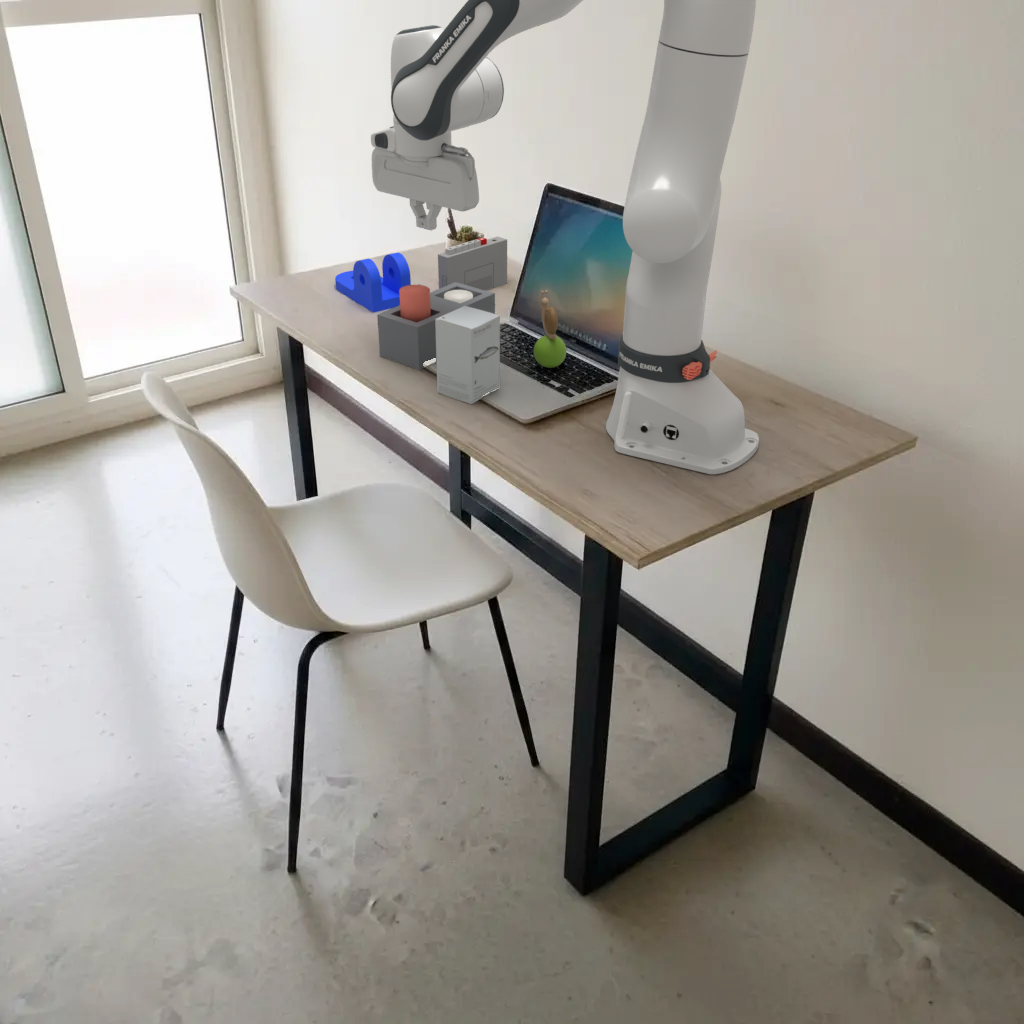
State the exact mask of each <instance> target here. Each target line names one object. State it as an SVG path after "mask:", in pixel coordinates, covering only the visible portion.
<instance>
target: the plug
mask: <svg viewBox="0 0 1024 1024" xmlns="http://www.w3.org/2000/svg"><path fill="white" fill-rule="evenodd" d="M472 298H473V294H472V293H471V292H470V291H466V290H451V291H448V292H446V293H445V294H444V299H447V300H450V301H454V302H457V303H463V302H465V301H467V300H470V299H472Z"/></svg>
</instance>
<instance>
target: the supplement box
mask: <svg viewBox="0 0 1024 1024" xmlns="http://www.w3.org/2000/svg"><path fill="white" fill-rule="evenodd" d="M435 327H436V362H435V363H436V386H437V387H436V390H437V391H436V392H437V393H438V394H441V395H444V396H447V397H449V398H452V399H455V400H458V401H460V402H463V403H467V404H469V405H473V404H474V403H476V402H477V401H479V400H481V399H483V398H482V396H483V395H485V394H486V393H488V392H491V391H493V390H495V389H497V388H499V387H500V385H501V384H500V383H501V381H500V380H501V379H500V378H501V375H500V373H501V372H500V371H501V369H500V368H501V367H500V366H501V364H500V362H501V359H500V358H501V346H500V345H501V315H500V314H496V313H495V314H493V313H490V312H486V311H483V310H479V309H475V308H471V307H468V306H463V307H461V308H459V309H456V310H454V311H452V312H450V313H448V314H445V315H443V316H441V317H439V318H436V319H435ZM499 389H500V388H499Z"/></svg>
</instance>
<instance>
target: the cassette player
mask: <svg viewBox="0 0 1024 1024" xmlns="http://www.w3.org/2000/svg"><path fill="white" fill-rule="evenodd" d="M437 267H438V273H437V274H438V289H440V288H442V287H445V286H447V285H450V284H452V283H455V282H457V283H461V284H464V285H468V286H471V287H475V288H478V289H482V290H485V291H490V290H492V289H496V288H498V287H499V288H500V287H501V286H505V285H507V284H508V239H506V238H504V237H501V236H499V235H498V236H495V237H491V238H486V237H480V238H476V239H473V240H470V241H467V242H466V241H465V242H463V243H459V244H456V245H453V246H450V247H447V248H445V251H444V252H441V253H439V254H437Z"/></svg>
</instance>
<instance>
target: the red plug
mask: <svg viewBox="0 0 1024 1024" xmlns="http://www.w3.org/2000/svg"><path fill="white" fill-rule="evenodd" d="M430 292H431V289H430V288H429V287H428V286H426V285H423V284H411V285H407V286H404V287H402V288H400V290H399V293H400V312H401V318H404V319H407V320H410V321H413V322H419V321H422V320H424V319H426V318H428V317H431V308H430Z"/></svg>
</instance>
